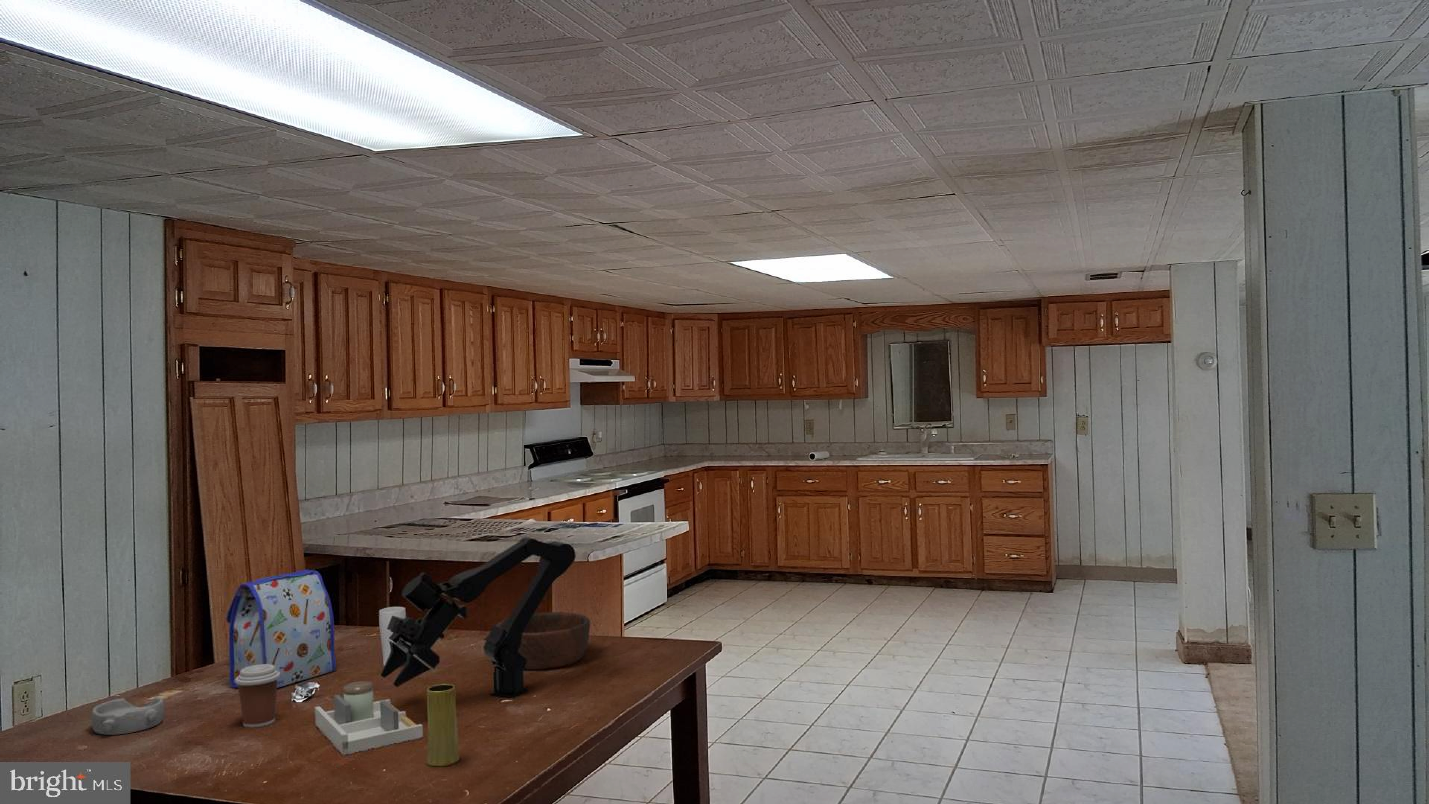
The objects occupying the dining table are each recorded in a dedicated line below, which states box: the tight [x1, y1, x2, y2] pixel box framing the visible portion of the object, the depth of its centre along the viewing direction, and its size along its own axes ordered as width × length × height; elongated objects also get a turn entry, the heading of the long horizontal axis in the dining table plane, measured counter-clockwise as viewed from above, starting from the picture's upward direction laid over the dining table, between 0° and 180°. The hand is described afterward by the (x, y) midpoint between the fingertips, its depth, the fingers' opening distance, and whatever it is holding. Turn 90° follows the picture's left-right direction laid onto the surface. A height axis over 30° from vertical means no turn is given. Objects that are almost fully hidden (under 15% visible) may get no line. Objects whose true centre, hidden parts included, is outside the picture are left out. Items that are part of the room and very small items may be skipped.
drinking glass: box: [378, 606, 407, 667], centre depth 258 cm, size 7×7×15 cm
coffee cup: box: [235, 664, 280, 728], centre depth 215 cm, size 9×9×12 cm
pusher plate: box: [333, 694, 351, 725], centre depth 209 cm, size 1×9×5 cm, turn 35°
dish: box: [90, 696, 165, 736], centre depth 215 cm, size 14×14×5 cm
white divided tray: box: [314, 698, 424, 756], centre depth 207 cm, size 16×23×6 cm
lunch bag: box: [225, 569, 337, 689], centre depth 249 cm, size 23×17×27 cm
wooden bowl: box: [495, 611, 591, 671], centre depth 260 cm, size 25×25×10 cm
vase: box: [426, 683, 460, 767], centre depth 188 cm, size 6×6×14 cm
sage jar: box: [342, 680, 374, 722], centre depth 211 cm, size 6×6×8 cm
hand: (388, 681), depth 215 cm, fingers open, 9 cm apart
